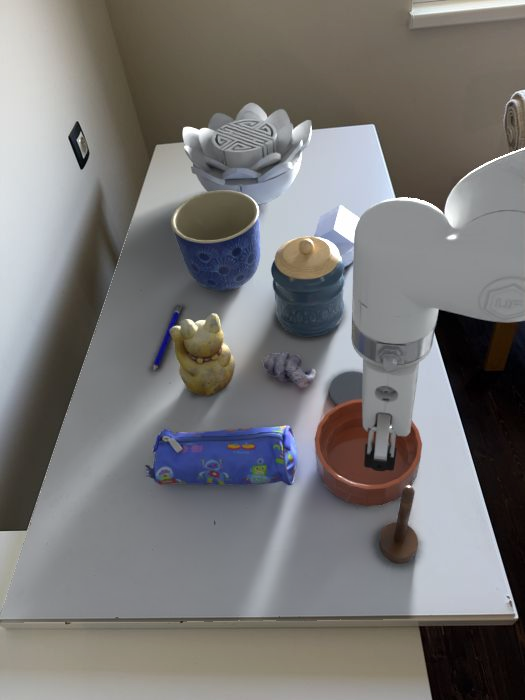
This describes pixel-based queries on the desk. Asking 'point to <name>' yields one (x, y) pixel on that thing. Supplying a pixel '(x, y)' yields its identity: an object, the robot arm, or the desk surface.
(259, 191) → the decorative bowl
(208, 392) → the decorative figurine
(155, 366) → the pencil
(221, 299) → the desk surface
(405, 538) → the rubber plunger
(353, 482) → the mixing bowl
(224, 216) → the planter
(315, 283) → the canister
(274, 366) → the seashell
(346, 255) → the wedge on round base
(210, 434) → the pencil case
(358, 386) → the grey round base
